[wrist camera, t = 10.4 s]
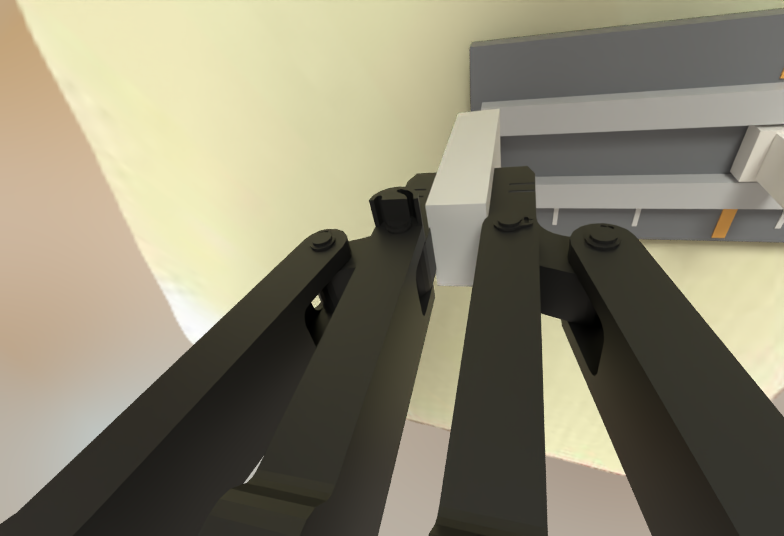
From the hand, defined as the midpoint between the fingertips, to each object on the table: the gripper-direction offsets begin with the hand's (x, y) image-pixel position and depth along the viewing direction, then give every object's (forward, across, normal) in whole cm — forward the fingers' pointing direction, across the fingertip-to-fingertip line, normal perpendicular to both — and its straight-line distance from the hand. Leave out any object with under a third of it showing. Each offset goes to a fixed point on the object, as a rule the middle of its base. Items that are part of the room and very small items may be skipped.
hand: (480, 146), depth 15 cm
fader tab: (+21, +20, -11) cm, 30 cm away
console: (+23, +12, -10) cm, 28 cm away
